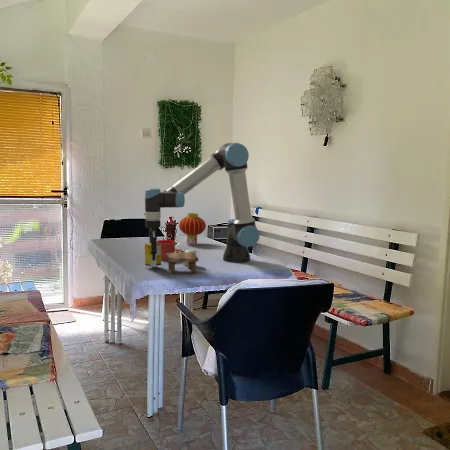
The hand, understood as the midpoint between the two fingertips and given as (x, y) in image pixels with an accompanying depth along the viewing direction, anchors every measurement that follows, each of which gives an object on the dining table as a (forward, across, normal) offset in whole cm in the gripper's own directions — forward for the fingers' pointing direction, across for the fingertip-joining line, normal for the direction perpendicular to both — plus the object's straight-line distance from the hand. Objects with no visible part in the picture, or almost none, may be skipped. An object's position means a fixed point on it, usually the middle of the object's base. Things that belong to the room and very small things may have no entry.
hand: (153, 264), depth 244 cm
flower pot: (+2, -22, +8) cm, 24 cm away
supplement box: (+1, 0, 0) cm, 1 cm away
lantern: (+3, -65, +29) cm, 71 cm away
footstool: (+2, +8, +13) cm, 16 cm away
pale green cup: (+2, -4, +19) cm, 20 cm away
